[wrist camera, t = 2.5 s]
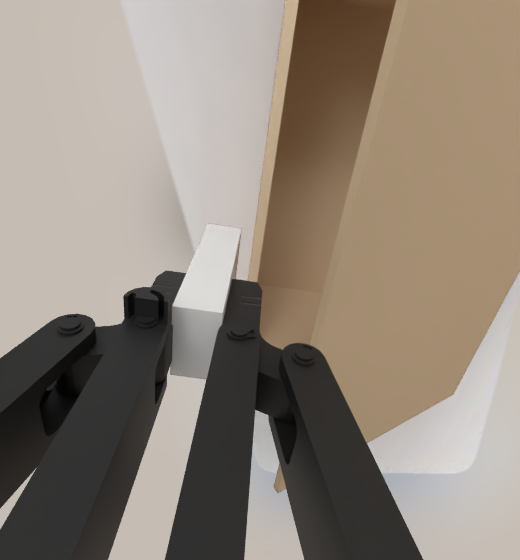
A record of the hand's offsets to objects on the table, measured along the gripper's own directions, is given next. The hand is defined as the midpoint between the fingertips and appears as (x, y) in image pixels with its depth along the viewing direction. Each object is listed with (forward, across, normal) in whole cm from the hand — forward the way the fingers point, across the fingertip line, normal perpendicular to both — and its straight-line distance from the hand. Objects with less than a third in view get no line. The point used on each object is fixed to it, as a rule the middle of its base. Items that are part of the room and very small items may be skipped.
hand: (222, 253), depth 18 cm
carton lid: (+1, +11, 0) cm, 11 cm away
